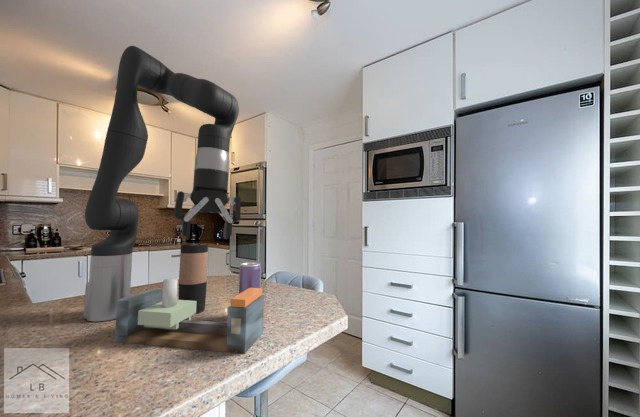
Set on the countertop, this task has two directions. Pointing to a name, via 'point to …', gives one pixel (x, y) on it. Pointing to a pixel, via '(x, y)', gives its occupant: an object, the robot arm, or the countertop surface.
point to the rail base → (179, 339)
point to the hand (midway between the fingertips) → (207, 238)
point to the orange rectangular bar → (246, 297)
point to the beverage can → (249, 276)
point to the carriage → (167, 309)
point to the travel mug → (193, 274)
